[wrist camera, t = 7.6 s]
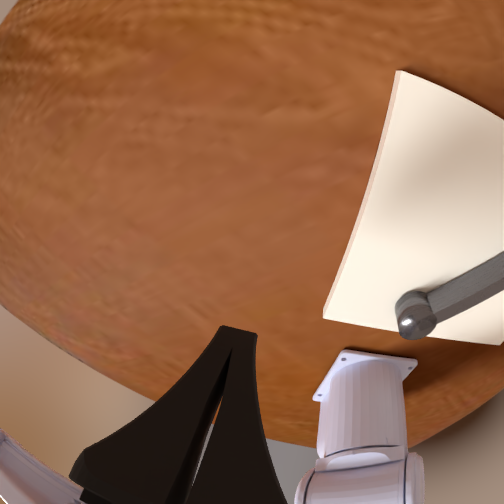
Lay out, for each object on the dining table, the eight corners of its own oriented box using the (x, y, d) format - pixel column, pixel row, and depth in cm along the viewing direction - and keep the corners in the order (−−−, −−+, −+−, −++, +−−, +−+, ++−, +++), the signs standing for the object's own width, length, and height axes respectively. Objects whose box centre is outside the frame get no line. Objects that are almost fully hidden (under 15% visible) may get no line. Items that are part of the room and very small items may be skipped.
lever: (400, 324, 19) (405, 344, 18) (389, 301, 18) (393, 322, 17) (550, 243, 13) (563, 258, 11) (549, 214, 12) (563, 228, 10)
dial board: (496, 337, 20) (499, 346, 19) (323, 308, 21) (323, 319, 21) (582, 184, 10) (590, 189, 9) (396, 70, 12) (401, 70, 11)
